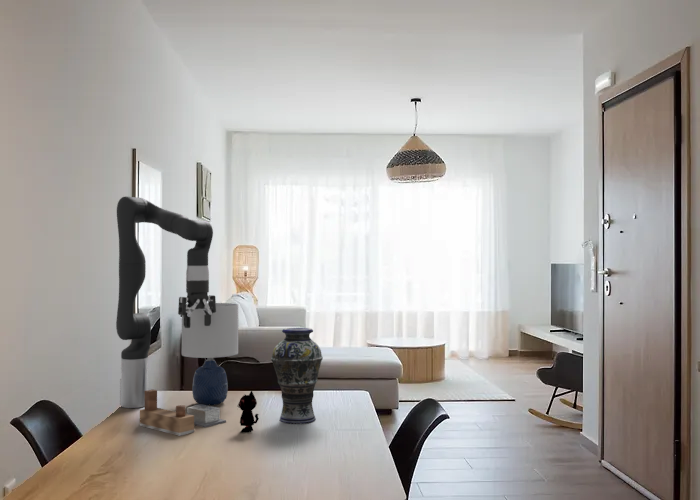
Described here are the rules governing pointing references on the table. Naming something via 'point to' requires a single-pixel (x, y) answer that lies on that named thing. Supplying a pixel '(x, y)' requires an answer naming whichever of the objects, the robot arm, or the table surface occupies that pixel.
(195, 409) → the lever cap
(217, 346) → the lamp
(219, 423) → the felt mat
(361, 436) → the table surface
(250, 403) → the cat figurine
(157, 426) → the plane body
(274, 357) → the vase
